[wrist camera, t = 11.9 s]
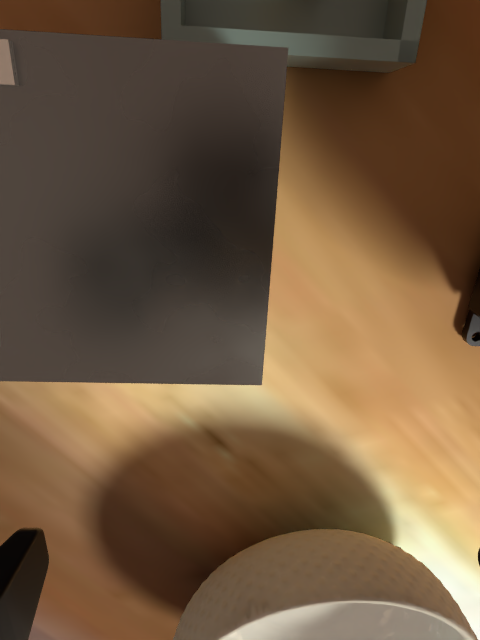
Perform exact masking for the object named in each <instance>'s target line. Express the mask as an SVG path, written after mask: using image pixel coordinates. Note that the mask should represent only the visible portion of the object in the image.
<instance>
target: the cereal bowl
mask: <svg viewBox="0 0 480 640" xmlns="http://www.w3.org/2000/svg"><path fill="white" fill-rule="evenodd" d="M173 640H478V639H477V637H476V635H475V633H474V632H473V630H472V629H471V627H470V625H469V623H468V621H467V619H466V617H465V616H464V614H463V613H462V611H461V610H460V608H459V606H458V604H457V603H456V602H455V600H454V599H453V598H452V596H451V594H450V593H449V591H448V590H447V589H446V588H445V587H444V586H443V584H442V583H441V581H440V580H439V579H438V578H437V577H435V575H434V574H433V573H432V572H431V571H430V570H429V569H428V568H427V567H426V566H425V565H424V564H423V563H422V562H420V561H418V560H416V559H415V558H414V557H413V556H412V555H410V554H409V553H406V552H405V551H403V550H402V549H401V548H400V547H396V546H394V545H392V544H391V543H389V542H386V541H383V540H381V539H380V538H376V537H371V536H369V535H367V534H363V533H357V532H354V531H351V530H350V531H345V530H341V529H331V530H330V529H310V530H302V531H295V532H292V533H286V534H284V535H278V536H276V537H272V538H269V539H266V540H263V541H261V542H259V543H256V544H254V545H253V546H250V547H248V548H247V549H244V550H242V551H241V552H238V553H237V554H236V555H235V556H233V557H231V558H229V559H228V560H227V561H226V562H225V563H223V564H222V565H220V566H218V568H217V569H216V570H215V571H214V572H212V573H211V574H210V575H209V577H208V578H207V579H206V580H205V581H204V582H203V583H202V584H201V586H200V587H199V589H198V590H197V591H196V592H195V593H194V595H193V596H192V598H191V600H190V602H189V603H188V604H187V606H186V608H185V611H184V612H183V614H182V616H181V619H180V622H179V624H178V626H177V629H176V634H175V636H174V639H173Z"/></svg>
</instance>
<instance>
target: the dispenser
mask: <svg viewBox="0 0 480 640" xmlns="http://www.w3.org/2000/svg"><path fill="white" fill-rule="evenodd" d="M287 60H288V48H287V47H271V46H256V45H240V44H224V43H209V42H193V41H177V40H162V39H146V38H130V37H115V36H99V35H83V34H67V33H52V32H36V31H20V30H5V29H0V381H29V382H93V383H158V384H222V385H262V375H263V362H264V350H265V337H266V325H267V312H268V299H269V287H270V274H271V262H272V249H273V236H274V224H275V211H276V199H277V186H278V173H279V161H280V148H281V136H282V123H283V110H284V98H285V85H286V72H287Z"/></svg>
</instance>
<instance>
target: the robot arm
mask: <svg viewBox="0 0 480 640" xmlns="http://www.w3.org/2000/svg"><path fill="white" fill-rule="evenodd" d="M475 332H477V335H476V336H475V337H473V338H472V335H473V334H474V333H475ZM462 338H463V340H464V341H466V342H467V343H468V344H469V345H471V346H480V269H479V272H478V276H477V279H476V283H475V286H474V290H473V293H472V297H471V300H470V303H469V312H468V315H467V318H466V322H465V325H464V329H463V332H462ZM478 561H479V565H480V548H479V551H478ZM48 564H49V554H48V550H47V545H46V540H45V535H44V532H43V530H42V529H41V528H21V529H19V530H17V531H16V532H15V533H14V534H13V535H12V536H11V537H10V538H9V539H8V540H6V541H5V542H4V543H3V544H2V545H1V546H0V640H28V638H29V634H30V631H31V627H32V624H33V620H34V616H35V613H36V609H37V606H38V602H39V598H40V595H41V591H42V587H43V584H44V580H45V577H46V573H47V569H48Z"/></svg>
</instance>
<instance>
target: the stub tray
mask: <svg viewBox="0 0 480 640" xmlns="http://www.w3.org/2000/svg"><path fill="white" fill-rule="evenodd" d="M426 3H427V0H161V34H162V40H177V41H193V42H209V43H224V44H240V45H256V46H271V47H287V48H288V60H287V67H302V68H318V69H335V70H351V71H367V72H384V73H390V72H393V71H395V70H398V69H401V68H403V67H406V66H408V65H411V64H414V63H415V62H416V56H417V51H418V46H419V40H420V35H421V30H422V24H423V19H424V14H425V8H426Z"/></svg>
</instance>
